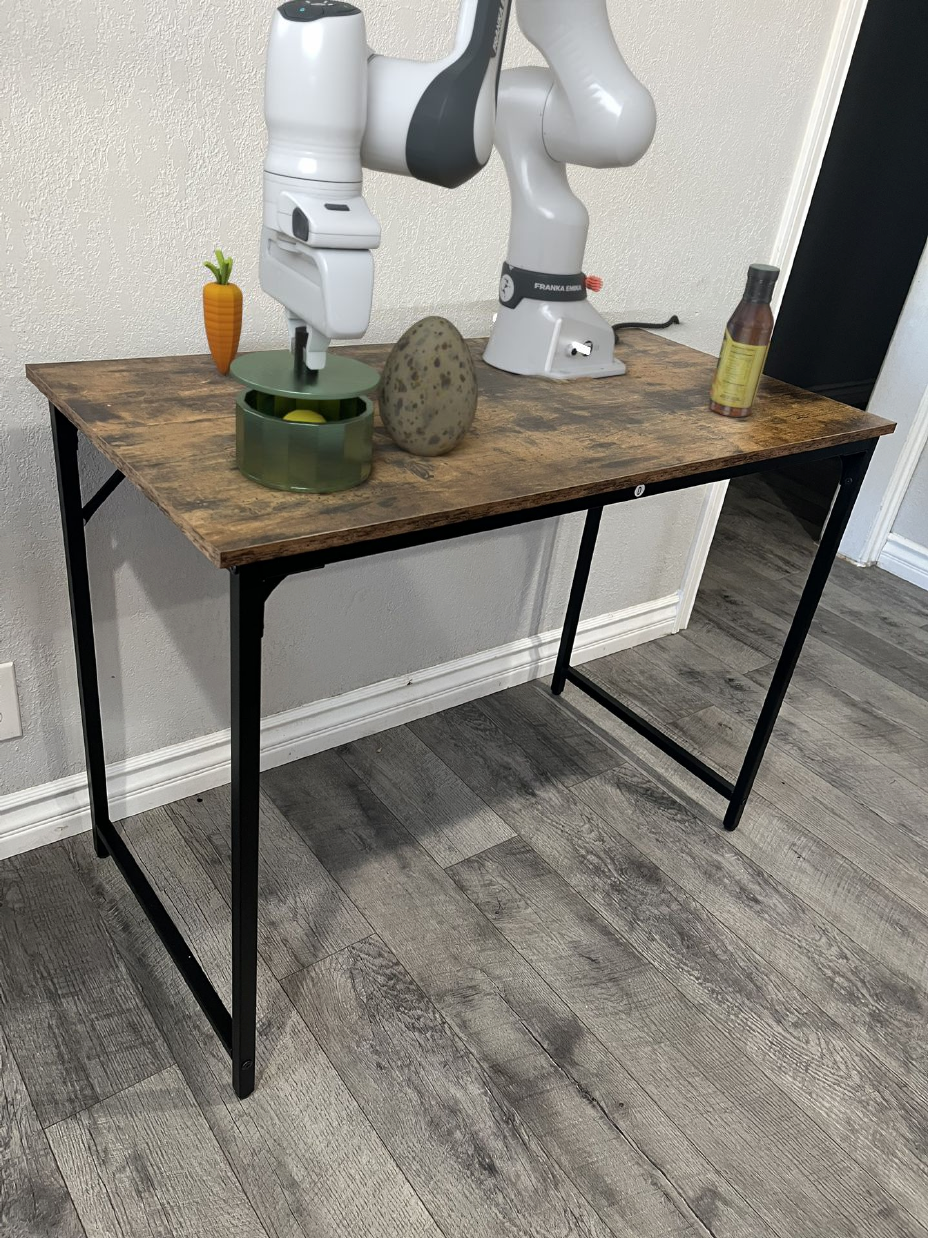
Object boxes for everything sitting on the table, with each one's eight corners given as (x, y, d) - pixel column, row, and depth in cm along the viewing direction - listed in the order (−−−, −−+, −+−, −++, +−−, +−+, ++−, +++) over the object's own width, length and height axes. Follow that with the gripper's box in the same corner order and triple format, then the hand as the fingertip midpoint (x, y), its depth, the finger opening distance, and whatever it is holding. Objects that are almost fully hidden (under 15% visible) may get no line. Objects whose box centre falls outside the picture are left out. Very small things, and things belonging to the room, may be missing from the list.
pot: (340, 439, 106) (343, 378, 103) (391, 486, 96) (396, 420, 93) (220, 448, 100) (219, 383, 96) (261, 498, 90) (262, 428, 86)
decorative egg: (468, 442, 111) (485, 311, 103) (471, 476, 101) (490, 335, 94) (376, 432, 110) (386, 299, 102) (371, 466, 100) (381, 322, 93)
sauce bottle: (721, 402, 138) (758, 259, 128) (758, 415, 134) (799, 269, 124) (696, 408, 134) (733, 261, 124) (735, 422, 130) (775, 271, 120)
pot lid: (345, 359, 102) (348, 310, 100) (403, 402, 92) (408, 349, 89) (211, 362, 96) (211, 310, 93) (257, 409, 85) (258, 351, 82)
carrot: (238, 382, 120) (238, 257, 112) (199, 377, 120) (196, 252, 112) (246, 371, 124) (247, 251, 117) (209, 366, 124) (206, 246, 116)
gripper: (243, 189, 92) (242, 333, 99) (320, 229, 77) (313, 395, 84) (304, 193, 95) (300, 333, 102) (390, 232, 80) (378, 392, 87)
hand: (307, 361), depth 93 cm, fingers closed on pot lid, 2 cm apart
